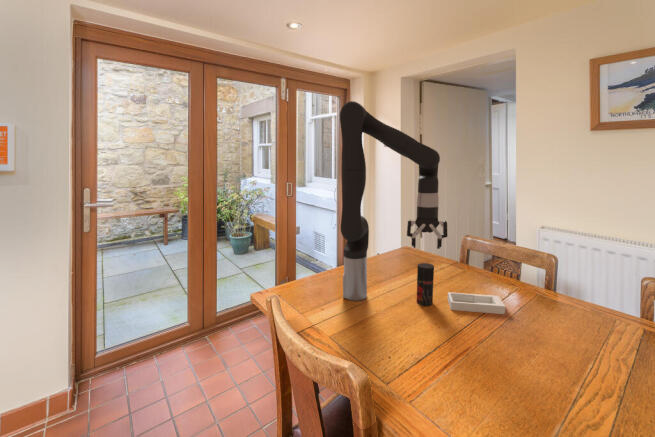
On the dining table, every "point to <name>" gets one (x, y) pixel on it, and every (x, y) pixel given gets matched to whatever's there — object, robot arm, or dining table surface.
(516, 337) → the dining table surface
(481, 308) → the white rectangular frame
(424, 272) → the deodorant
